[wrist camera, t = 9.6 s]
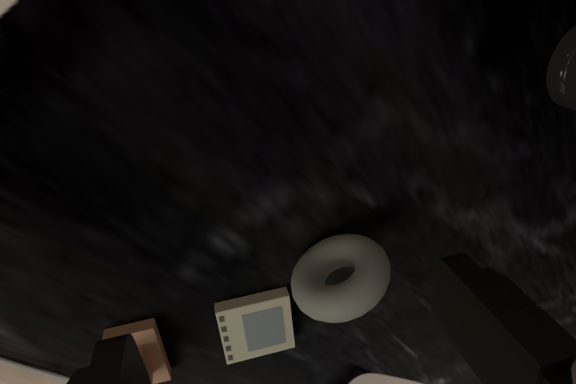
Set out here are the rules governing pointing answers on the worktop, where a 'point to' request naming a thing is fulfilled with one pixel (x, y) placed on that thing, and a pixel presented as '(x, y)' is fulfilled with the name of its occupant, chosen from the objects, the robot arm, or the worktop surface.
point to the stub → (146, 347)
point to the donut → (349, 294)
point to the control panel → (255, 324)
